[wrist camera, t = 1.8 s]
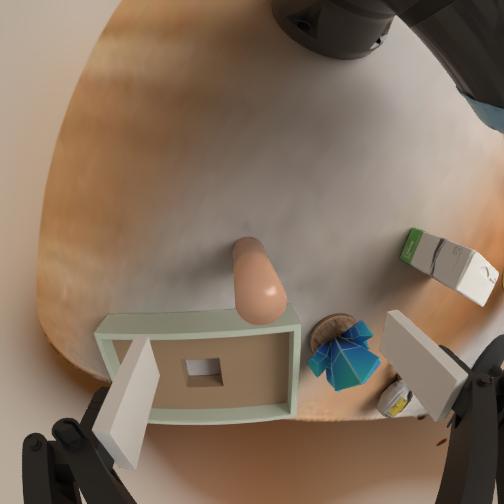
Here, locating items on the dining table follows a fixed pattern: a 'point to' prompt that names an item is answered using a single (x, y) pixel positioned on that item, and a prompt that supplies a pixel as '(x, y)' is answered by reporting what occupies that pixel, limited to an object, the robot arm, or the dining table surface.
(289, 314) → the box
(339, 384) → the gemstone
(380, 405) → the toy
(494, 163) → the dining table surface
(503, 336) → the globe
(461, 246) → the ink box
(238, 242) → the peg
